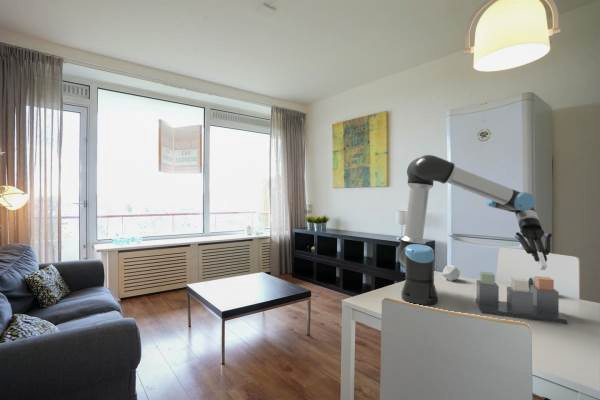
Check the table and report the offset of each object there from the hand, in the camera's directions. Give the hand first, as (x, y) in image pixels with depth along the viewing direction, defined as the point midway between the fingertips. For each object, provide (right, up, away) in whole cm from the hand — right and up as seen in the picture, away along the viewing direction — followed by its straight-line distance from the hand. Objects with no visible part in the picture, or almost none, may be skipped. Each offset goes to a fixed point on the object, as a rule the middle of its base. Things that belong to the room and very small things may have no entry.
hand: (543, 267), depth 115 cm
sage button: (-18, -12, +6) cm, 23 cm away
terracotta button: (-1, -12, -1) cm, 12 cm away
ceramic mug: (+17, -17, +23) cm, 33 cm away
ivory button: (-12, -12, -3) cm, 17 cm away
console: (-11, -17, 0) cm, 20 cm away
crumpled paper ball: (-13, -17, +45) cm, 50 cm away
